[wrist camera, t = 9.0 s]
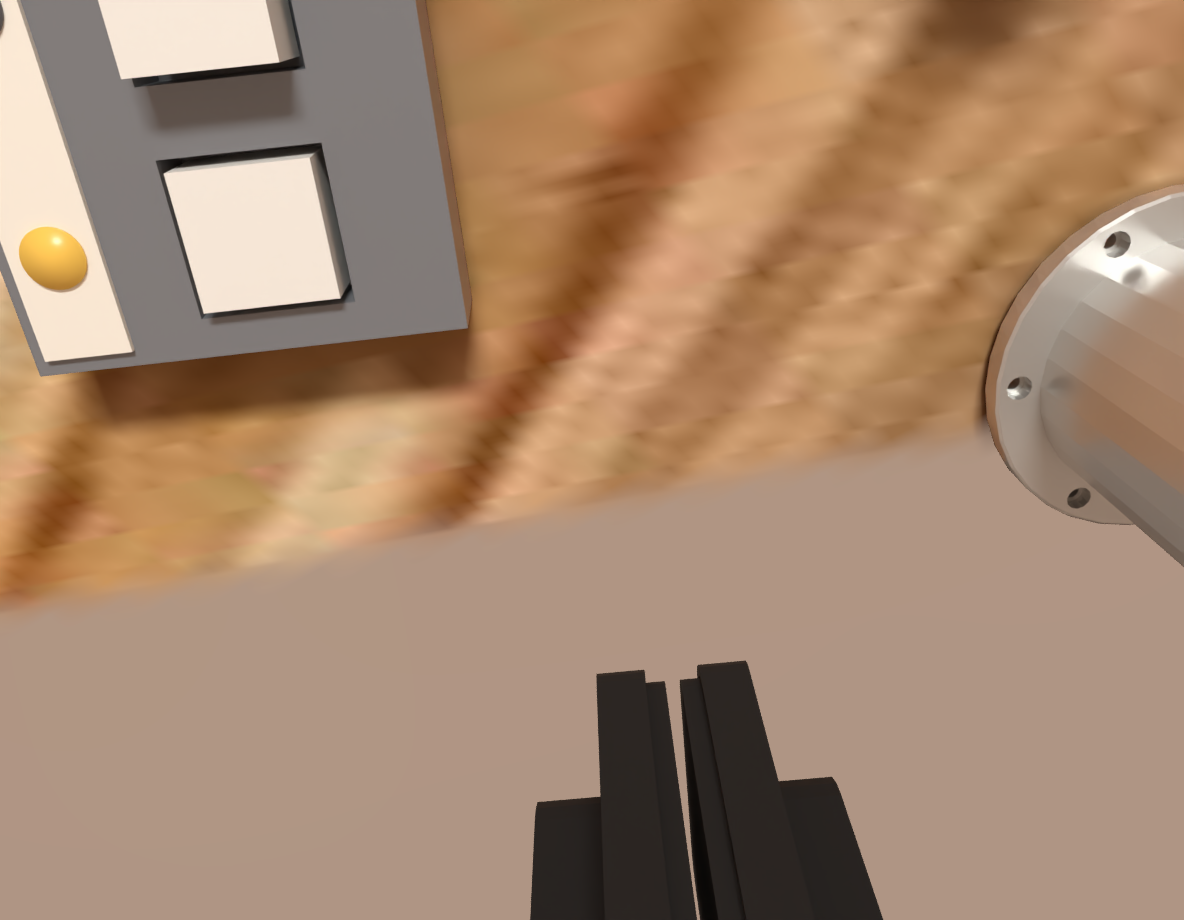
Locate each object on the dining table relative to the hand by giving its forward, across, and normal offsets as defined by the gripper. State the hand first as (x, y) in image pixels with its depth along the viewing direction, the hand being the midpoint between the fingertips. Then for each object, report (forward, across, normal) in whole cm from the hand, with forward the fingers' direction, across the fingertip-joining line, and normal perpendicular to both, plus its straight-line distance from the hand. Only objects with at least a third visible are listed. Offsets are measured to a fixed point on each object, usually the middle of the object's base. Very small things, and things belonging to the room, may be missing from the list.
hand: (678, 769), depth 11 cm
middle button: (+20, +10, -9) cm, 25 cm away
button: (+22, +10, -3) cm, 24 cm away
